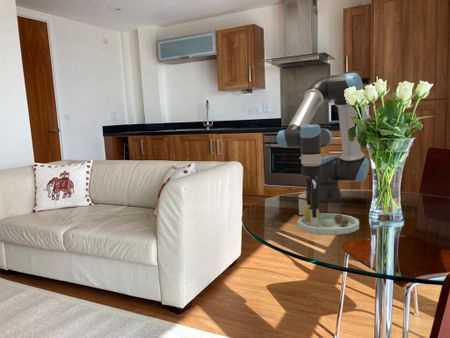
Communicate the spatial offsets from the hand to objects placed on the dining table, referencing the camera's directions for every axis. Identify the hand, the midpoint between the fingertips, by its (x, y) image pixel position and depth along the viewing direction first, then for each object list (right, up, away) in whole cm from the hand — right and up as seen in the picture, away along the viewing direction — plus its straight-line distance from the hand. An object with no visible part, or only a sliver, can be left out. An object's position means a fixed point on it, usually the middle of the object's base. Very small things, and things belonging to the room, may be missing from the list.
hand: (312, 222), depth 143 cm
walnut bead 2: (+12, -1, -2) cm, 12 cm away
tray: (+6, -2, 0) cm, 6 cm away
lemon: (0, -1, 0) cm, 1 cm away
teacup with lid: (+4, 0, +22) cm, 22 cm away
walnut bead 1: (+11, 0, +2) cm, 12 cm away
